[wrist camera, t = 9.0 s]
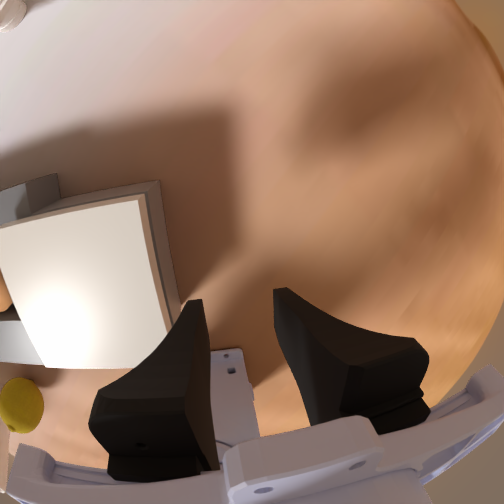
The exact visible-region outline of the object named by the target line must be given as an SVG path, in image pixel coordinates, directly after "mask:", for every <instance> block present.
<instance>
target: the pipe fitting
mask: <svg viewBox="0 0 504 504" xmlns="http://www.w3.org/2000/svg"><path fill="white" fill-rule="evenodd" d="M26 10H27V6H26V4H25V3H24V2H23V1H22V0H0V32H4V33H5V32H9V31H11V30H13V29H14V28H15V27H16V26H17V25H18V24H19V23H20V22H21V20H22V19H23V17H24V15H25V13H26Z"/></svg>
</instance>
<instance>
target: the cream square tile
mask: <svg viewBox="0 0 504 504" xmlns="http://www.w3.org/2000/svg"><path fill="white" fill-rule="evenodd" d="M0 268H1V271H2V274H3V277H4V280H5V282H6V285H7V288H8V290H9V293H10V295H11V298H12V300H13V303H14V305H15V307H16V310H17V312H18V314H19V317H20V319H21V321H22V323H23V325H24V327H25V329H26V331H27V333H28V335H29V337H30V339H31V341H32V343H33V345H34V347H35V349H36V351H37V353H38V355H39V356H40V358H41V360H42V362H43V363H44V365H45V367H47V368H73V369H115V368H135V367H136V366H137V365H139V364H140V363H141V362H142V361H143V360H144V359H145V358H147V357H148V356H149V355H150V354H151V353H152V352H153V351H154V350H155V349H156V348H157V346H158V345H159V344H160V343H161V342H162V340H163V339H164V338H165V336H166V335H167V334H168V332H169V331H170V330H171V328H172V326H171V322H170V318H169V314H168V310H167V306H166V302H165V298H164V294H163V289H162V285H161V281H160V276H159V272H158V267H157V262H156V257H155V252H154V247H153V242H152V236H151V231H150V225H149V220H148V213H147V207H146V201H145V194H139V195H133V196H127V197H121V198H116V199H110V200H105V201H99V202H94V203H89V204H84V205H79V206H75V207H70V208H65V209H61V210H56V211H52V212H47V213H43V214H39V215H35V216H31V217H27V218H23V219H19V220H15V221H12V222H8V223H4V224H2V225H1V226H0Z"/></svg>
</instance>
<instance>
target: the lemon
mask: <svg viewBox="0 0 504 504" xmlns="http://www.w3.org/2000/svg"><path fill="white" fill-rule="evenodd" d="M43 411H44V401H43V397H42V394H41V392H40V390H39V389H38V387H37V386H36V385H35V384H34V382H33V381H32V380H28V379H25V378H21V377H18V378H13V379H11V380H9V381H8V382H7V383H6V384H5V385H4V387H3V389H2V391H1V393H0V416H1V418H2V420H3V422H4V423H5V424H6V425H7V427H8V429H9V430H10V431H11V432H17V433H29V432H31V431H33V430H34V429H35V428H36V427H37V425H38V424H39V422H40V420H41V418H42V415H43Z"/></svg>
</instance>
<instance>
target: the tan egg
mask: <svg viewBox="0 0 504 504" xmlns="http://www.w3.org/2000/svg"><path fill="white" fill-rule="evenodd" d="M12 303H13V301H12V299H11V296H10V294H9V291H8V288H7V286H6V283H5V280H4V278H3V275H2V272H1V269H0V312H3V311H5V310H7V309H8V308H9V306H10V305H11V304H12Z"/></svg>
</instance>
